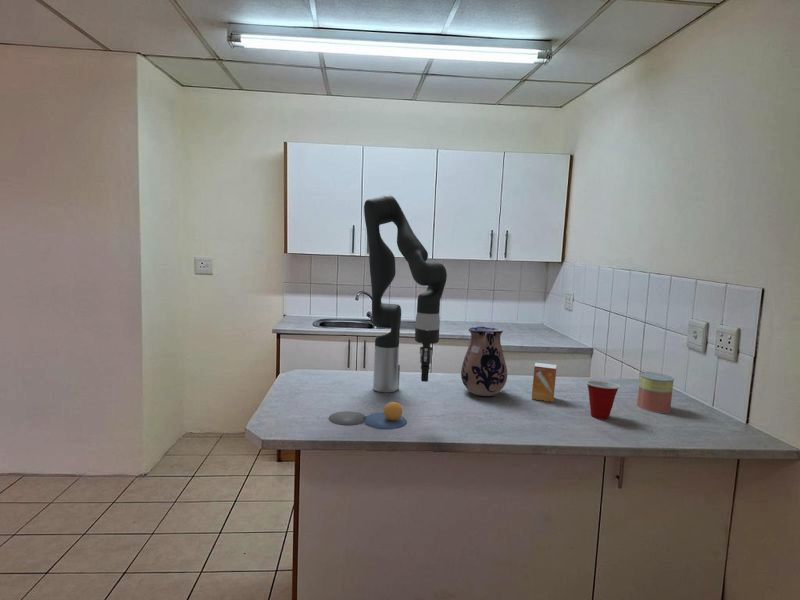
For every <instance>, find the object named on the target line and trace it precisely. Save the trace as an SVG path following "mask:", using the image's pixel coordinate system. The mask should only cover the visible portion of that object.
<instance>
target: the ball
mask: <svg viewBox="0 0 800 600" xmlns="http://www.w3.org/2000/svg"><path fill="white" fill-rule="evenodd" d="M383 413H384V415H385V417H386V418H387V419H388V420H390V421H396V420H398V419H399V418H400V417H401V416H402V417H403V408H402V405H401V404H400V403H399V402H396V401H390V402H387V404H386V405H384V407H383Z"/></svg>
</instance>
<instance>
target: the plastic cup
mask: <svg viewBox="0 0 800 600" xmlns="http://www.w3.org/2000/svg"><path fill="white" fill-rule="evenodd" d="M586 384H587V388H588V400H589V401H588V402H589V406H590V407H589V410H590V416H591V417H593V418H595V419H597V420H598V419H599V420H608V419H609V417H610V416H611V411H612V408H613V406H614V402H615V398H616V395H617V392H618V390H619V389H620V387H621V386H620V385H619V384H617V383H613V382H610V381H609V382H608V381H603V380H586Z"/></svg>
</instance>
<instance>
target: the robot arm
mask: <svg viewBox="0 0 800 600" xmlns="http://www.w3.org/2000/svg"><path fill="white" fill-rule="evenodd" d="M363 214H364V215H363V217H364V222H365V227H366V228H365V229H366V235H367V244H368V256H369V257H368V261H369V275H370V283H371V286H370V287H371V320H372V321H371V322H372V324H373V326H374V327H376V328H384V329H390V331H389V332H388V333H386V334H383V335H378V336H376V337H375V340H374V356H373V357H374V358H373V360H374V362H373V363H374V364H373V382H372V383H373V385H372V387H373V388H372V389H373V390H374V391H376V392H378V393H394V392H396V391H398V390H399V389H400V369H401V368H400V367H401V365H400V364H399V351H400V350H399V349H400V334H401V332H400V331H401V324H402V323H401V321H402V308H401V305H400V304H397V303H396V304H395V303H385V302H384V303H383V302H382V298H383V296H384V294H385V292H386V290H387V289H388V288H389V286H390V285H391V284H392V282H393V280H394V279H395V277H396V274H397V273H396V257H395V255H394V253H393V251H392V250H391V249H390V247H389V246H388V244H386V243H385V241H384V240H383V238H382V236H381V233H380V232H381V230H380V225H385V224H389V223H393V224H394V225H395V226H396V228H397V234H396V244H397V248H398V251H399V252H400V254H401V255H402V257H403V258H404V259H405V261H406V262H407V264H408V268H409V270H410V274H411V276H412V279H413V280H414V281H415V283H417V284H418V285H419V286H424V287H425V286H427V288H426V290H425V291H424V292H422V293H420V294H419V295H417V303H416V304H417V305H416V316H415V324H414V325H415V328H414V341H415V342H416V343H418V344H419V343H420V344H422V346H420V347H419V355H420V358H419V359H420V361H419V363H420V370H421V375H420V380H421V382H423V383H424V382H426V383H427V382H429V370H430V368H431V367H430V364H431V363H432V355H433V347H432V346H431V345H432V344H433V345H434V344H437V343H439V341H440V328H441V327H440V326H441V324H440V323H441V318H440V317H441V315H440V309H441V299H442V296H443V292H444V289H445V286H446V282H447V277H448V274H447V269H446V267H445V266H444V264H443V263H441V262H427V260H428V257H429V253H428V251H427V249H426V248H425V246H424V245H423V243H421V241H420V240H419V238H418V237H417V236H416V234H415V233H414V231H413V229H412V227H411V225H410V224H409V221H408V219H407V217H406V215H405V213H404V211H403V210H402V208H401V206H400V204H399V202H398V200H397V199H396V198H395V197H394V196H393V195H391V194H385V195H384V194H383V195H380V196H376V197H371V198H368V199H366V200H365V202H364V205H363Z"/></svg>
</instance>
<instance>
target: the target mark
mask: <svg viewBox="0 0 800 600" xmlns="http://www.w3.org/2000/svg"><path fill="white" fill-rule="evenodd" d="M365 416H366V418H364V419H366V420H365V421H364V420H363V421H364V422H363V423H364V424H365V425H366V426H368V427H370V426H371V427H370V428H373V427H374V428H375V429H378V428H379V430H394V428H395V429H399V428H402V427H405V425H407V423H408V420H407V418H405V417H404V416H403V415H402V416H401V417H400V418H399V419H398V420H396V421H390V420H388V419H387V418H386V417H385V415H384V412H375V413H370V414H368V415H365Z"/></svg>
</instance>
